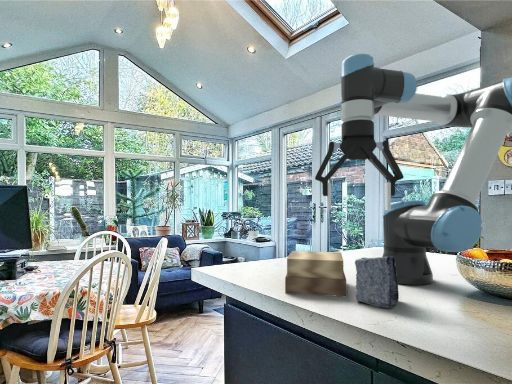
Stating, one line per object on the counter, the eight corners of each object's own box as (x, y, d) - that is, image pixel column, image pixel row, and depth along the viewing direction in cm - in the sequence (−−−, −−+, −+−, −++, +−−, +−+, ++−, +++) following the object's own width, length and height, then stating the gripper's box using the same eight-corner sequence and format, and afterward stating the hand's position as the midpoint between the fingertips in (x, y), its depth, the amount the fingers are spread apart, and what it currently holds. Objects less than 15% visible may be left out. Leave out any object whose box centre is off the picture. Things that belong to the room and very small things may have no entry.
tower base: (342, 283, 99) (342, 268, 100) (346, 298, 85) (346, 279, 85) (290, 281, 102) (290, 266, 102) (285, 295, 88) (285, 277, 88)
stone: (408, 310, 80) (398, 307, 72) (365, 311, 85) (351, 308, 77) (400, 258, 84) (390, 250, 76) (360, 262, 89) (347, 255, 82)
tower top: (341, 268, 99) (341, 252, 99) (343, 279, 86) (343, 260, 86) (292, 266, 102) (292, 250, 102) (287, 276, 88) (287, 258, 89)
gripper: (407, 123, 85) (408, 209, 85) (305, 126, 89) (305, 209, 88) (417, 116, 78) (418, 210, 77) (305, 119, 81) (305, 210, 81)
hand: (358, 210), depth 83 cm, fingers open, 13 cm apart
